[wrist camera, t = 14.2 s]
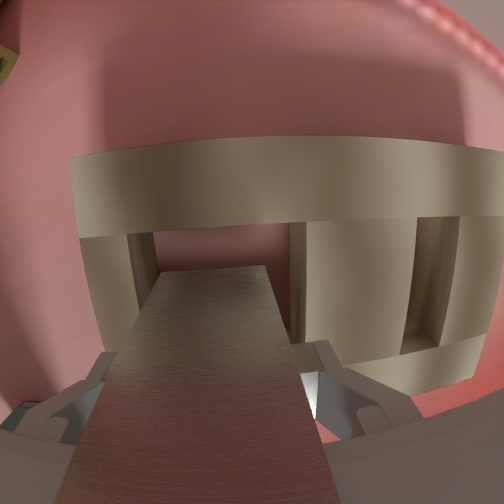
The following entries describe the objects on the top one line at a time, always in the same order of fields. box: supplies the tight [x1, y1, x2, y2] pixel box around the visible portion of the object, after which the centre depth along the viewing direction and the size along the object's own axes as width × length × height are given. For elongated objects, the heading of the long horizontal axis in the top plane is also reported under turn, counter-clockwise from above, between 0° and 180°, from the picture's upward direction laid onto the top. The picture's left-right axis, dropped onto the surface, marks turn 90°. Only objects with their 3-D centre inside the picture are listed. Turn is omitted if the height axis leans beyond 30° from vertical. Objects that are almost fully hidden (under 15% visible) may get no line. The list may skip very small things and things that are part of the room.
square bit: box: [54, 265, 341, 504], centre depth 8 cm, size 4×4×10 cm
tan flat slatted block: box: [70, 135, 504, 397], centre depth 15 cm, size 20×13×4 cm, turn 93°
